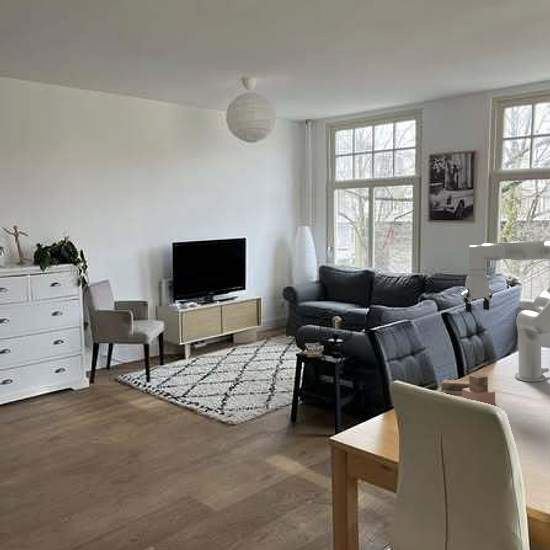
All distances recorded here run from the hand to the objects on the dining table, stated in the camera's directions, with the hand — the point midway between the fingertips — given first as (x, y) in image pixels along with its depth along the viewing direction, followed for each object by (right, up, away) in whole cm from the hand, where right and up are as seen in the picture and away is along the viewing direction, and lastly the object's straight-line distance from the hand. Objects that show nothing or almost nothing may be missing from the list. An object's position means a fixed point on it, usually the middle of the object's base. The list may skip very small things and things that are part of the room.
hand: (477, 310), depth 246 cm
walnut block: (-8, -31, -22) cm, 39 cm away
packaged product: (-9, -35, -6) cm, 37 cm away
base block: (-7, -36, -21) cm, 42 cm away
